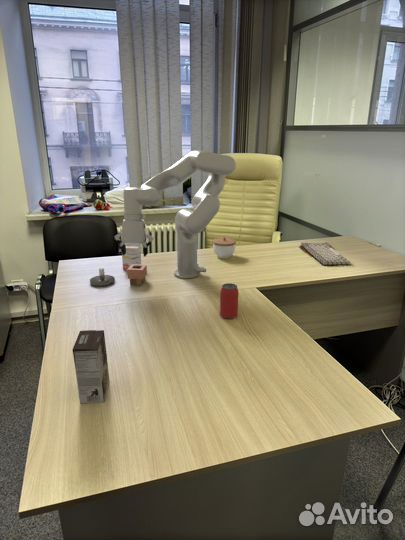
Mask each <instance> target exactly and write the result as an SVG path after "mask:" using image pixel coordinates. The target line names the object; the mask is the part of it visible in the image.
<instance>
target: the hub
mask: <svg viewBox="0 0 405 540" xmlns="http://www.w3.org/2000/svg"><path fill="white" fill-rule="evenodd" d="M115 282H116V279H115V276H113V275H111V274H105V268H103V267H100V268H99V269H98V275H95V276H92V277H91V278H90V279H89V284H90V285H91V287H95V288H105V287H109V286H112V285H115Z"/></svg>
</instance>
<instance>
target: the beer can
mask: <svg viewBox="0 0 405 540" xmlns="http://www.w3.org/2000/svg"><path fill="white" fill-rule="evenodd" d="M220 289H221V290H220V294H219V295H220V300H219V302H220V304H219V315H220V316H221V318H222V319H223V318H224V319H228V320H233V319H235V318H237V317H238V312H239V311H238V309H239V289H238V285H237V284H235V283H232V282H231V283H229V282H227V283H224V284H222V286H221V288H220Z"/></svg>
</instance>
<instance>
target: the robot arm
mask: <svg viewBox="0 0 405 540" xmlns="http://www.w3.org/2000/svg"><path fill="white" fill-rule="evenodd" d="M236 167H237V162H236V160H235V159H234V158H233V156H231V155H227V154H221V153H214V152H210V151H207V150H206V151H205V150H198V149H197V150H196V149H195V150H191V151H190V152H189V153H187V154H186V155H185V156H183V157H182V158H181V159H180V160H178V161H177V162H175V163H174V164H172V165H171V166H170V167H168V168H166V169H165V170H163V171H162V172H160V173H157V174H156V175H155V176H153V177H151V178H150V179H149V180H147V181H146V182H144V183H143V184H142V185H141V186H140V187H133V186H131V187H125V188H124V189H123V211H124V212H123V213H124V216H123V217H124V218H123V220H122V225H121V226H122V228H121V232H120V233H118V234H115V235H114V239H115V240H116V243H117V244H118V245H119V246H120V252H121V255H125V254H126V245H125V243H140V244H141V245H142V247H143V257H147V255H148V253H149V250H148V249H149V246H151V244H152V242H153V240H154V237H153V236H152V235H150V234H148V233H147V228H146V222H145V219H146V214H144V213H143V206H156V205H158V204H159V203H161V200H162V194H161V192H163V191H165V190H166V189H169V188H172V187H177V186H180V185H182V184H184V183H185V182H186V181H187V180H189V179H190V178H192V176H194V175H195V174H196V173H198V172H203V173H208V176H207V180H206V181H205V182H204V184H203V185H202V186H201V187H200V188H199V189H198V190H197V192H196V193H195V194H194V196H193V197H192V199H191V202H190V203H191V206H192V208H193V209H194V210H192V209H188V208H183V209H182V208H181V209H180V210H178V212H177V213H176V215H175V218H174V225H175V230H176V249H177V250H176V253H177V254H176V256H177V257H176V258H177V261H176V262H177V263H176V264H177V265H176V266H177V269H176V270H174V276H175V277H177V278H179V279H185V280H186V279H187V280H188V279H195V278H198V277H199V276H201V273H207V268H206V267H204V266H199V265H200V264H199V263H198V234H200V233H202V232H203V231H204V230H205V229H206V228H207V226H208V225H209V224H210V222H212V220H213V219H214V218H215V217H216V215H218V212H219V211H220V209H221V208H220V207H221V202H220V198H219V196H220V194H221V193H222V191H223V190H224V188H225V184H226V176H230V175H231V174H233V173H234V172H235V170H236ZM120 237H121V239H120ZM147 239H148V241H147Z"/></svg>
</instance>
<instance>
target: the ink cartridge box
mask: <svg viewBox="0 0 405 540" xmlns="http://www.w3.org/2000/svg"><path fill="white" fill-rule="evenodd" d="M125 245H126V254H125V255H122V254H121V255H122V256H121V258H122V259H121V260H122V262H121V263H122V270H126V271H127V269H128V268H129V267H130V266H131V264H139V265H142V254H141V253H142V251H141V243H125Z"/></svg>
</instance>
